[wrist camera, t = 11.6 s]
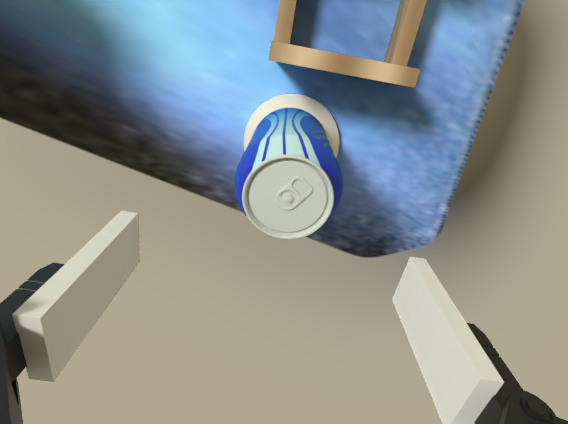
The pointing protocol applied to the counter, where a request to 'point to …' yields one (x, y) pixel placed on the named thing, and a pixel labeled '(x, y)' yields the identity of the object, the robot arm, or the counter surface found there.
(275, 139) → the beer can
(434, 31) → the counter surface
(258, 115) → the trivet
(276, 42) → the oak holder
